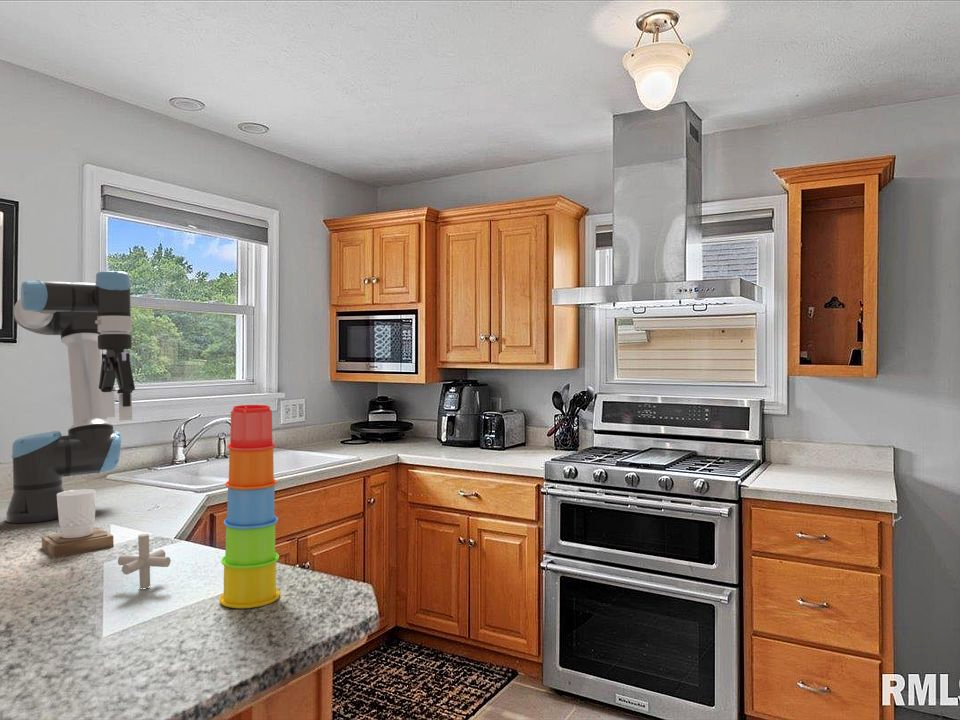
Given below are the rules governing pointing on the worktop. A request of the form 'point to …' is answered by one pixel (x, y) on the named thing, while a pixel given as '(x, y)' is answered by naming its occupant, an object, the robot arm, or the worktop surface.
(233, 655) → the worktop surface
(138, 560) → the beige jack
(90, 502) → the white cup
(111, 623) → the worktop surface
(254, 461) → the stacking cups
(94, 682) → the worktop surface
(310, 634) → the worktop surface
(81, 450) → the robot arm
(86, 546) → the walnut board
